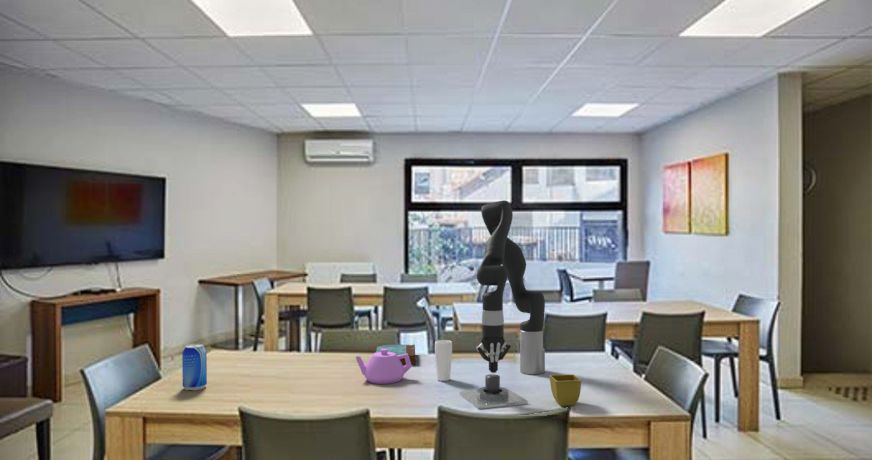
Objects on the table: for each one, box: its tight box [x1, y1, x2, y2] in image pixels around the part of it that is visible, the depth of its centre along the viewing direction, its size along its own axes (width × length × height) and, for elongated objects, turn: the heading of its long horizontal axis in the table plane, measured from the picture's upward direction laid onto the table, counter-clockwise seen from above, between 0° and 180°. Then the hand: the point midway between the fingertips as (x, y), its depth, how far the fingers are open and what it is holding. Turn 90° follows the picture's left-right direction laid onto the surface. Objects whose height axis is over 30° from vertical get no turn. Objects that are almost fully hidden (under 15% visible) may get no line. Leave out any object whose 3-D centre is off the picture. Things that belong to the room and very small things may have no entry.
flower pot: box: [549, 373, 582, 407], centre depth 205 cm, size 9×9×9 cm
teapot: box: [355, 349, 413, 385], centre depth 238 cm, size 22×16×12 cm
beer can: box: [181, 343, 208, 391], centre depth 227 cm, size 8×8×16 cm
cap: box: [484, 373, 501, 393], centre depth 211 cm, size 5×5×7 cm
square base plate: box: [459, 386, 529, 410], centre depth 211 cm, size 18×18×3 cm
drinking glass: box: [434, 339, 453, 382], centre depth 237 cm, size 7×7×15 cm
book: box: [375, 344, 416, 366], centre depth 272 cm, size 23×18×5 cm
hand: (493, 372), depth 211 cm, fingers closed
